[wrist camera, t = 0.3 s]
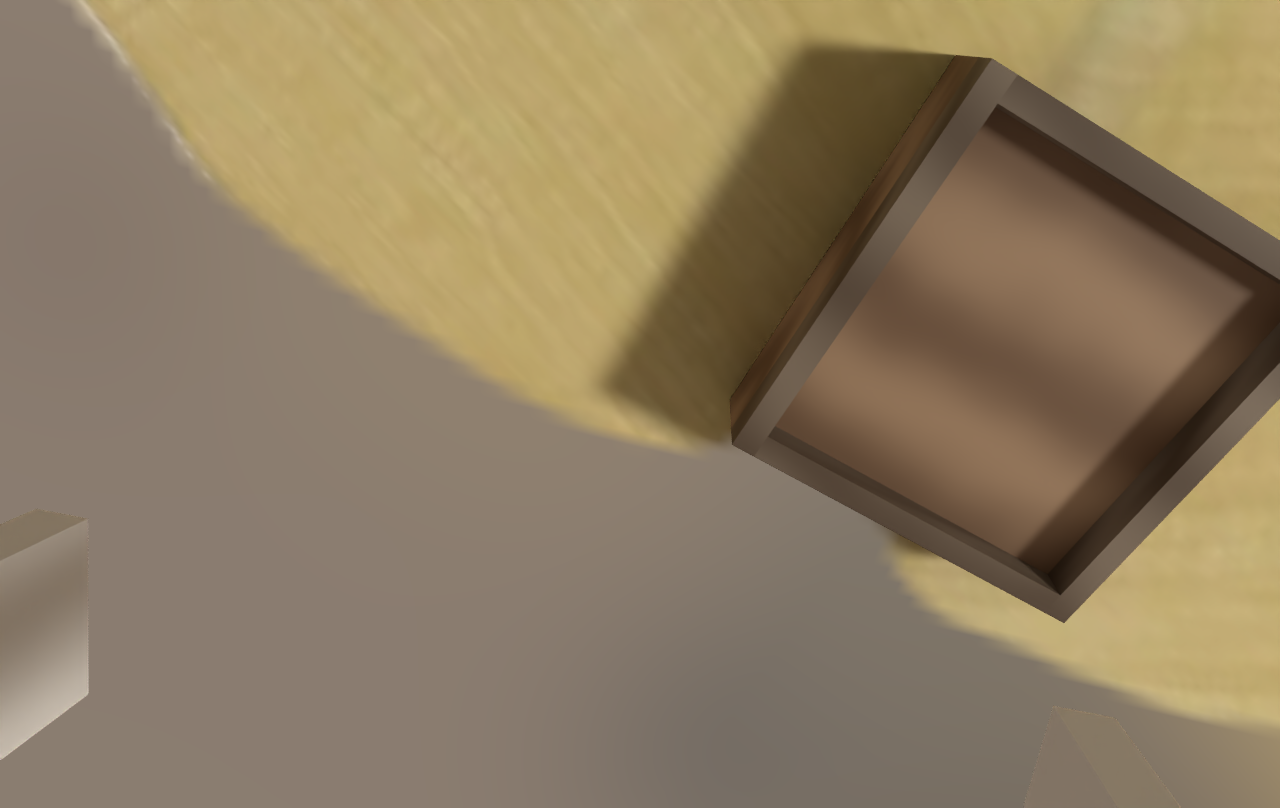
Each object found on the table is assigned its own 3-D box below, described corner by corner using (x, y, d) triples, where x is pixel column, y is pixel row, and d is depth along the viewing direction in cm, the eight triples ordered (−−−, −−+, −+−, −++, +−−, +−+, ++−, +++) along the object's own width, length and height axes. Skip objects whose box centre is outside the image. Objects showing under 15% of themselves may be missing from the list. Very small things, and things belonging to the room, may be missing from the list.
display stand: (955, 55, 32) (992, 58, 28) (1293, 267, 34) (1374, 300, 30) (729, 399, 38) (732, 444, 34) (1027, 562, 40) (1064, 623, 36)
